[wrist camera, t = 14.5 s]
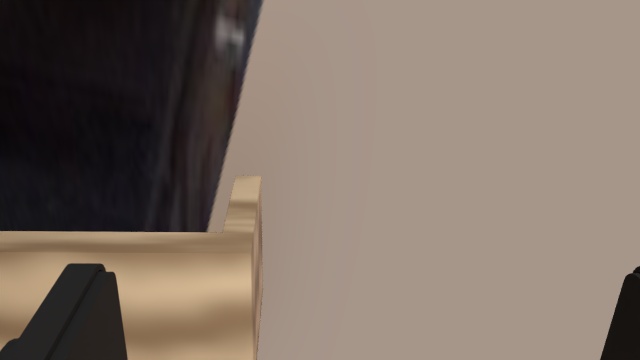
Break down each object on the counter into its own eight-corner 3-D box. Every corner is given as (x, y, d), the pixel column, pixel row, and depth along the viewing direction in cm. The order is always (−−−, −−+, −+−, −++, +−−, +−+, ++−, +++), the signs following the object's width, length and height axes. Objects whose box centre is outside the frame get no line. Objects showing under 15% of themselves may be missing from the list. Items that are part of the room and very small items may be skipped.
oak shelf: (-11, 172, 45) (-105, 251, 34) (260, 175, 46) (250, 253, 35) (16, 290, 49) (-59, 391, 39) (262, 290, 50) (254, 389, 40)
